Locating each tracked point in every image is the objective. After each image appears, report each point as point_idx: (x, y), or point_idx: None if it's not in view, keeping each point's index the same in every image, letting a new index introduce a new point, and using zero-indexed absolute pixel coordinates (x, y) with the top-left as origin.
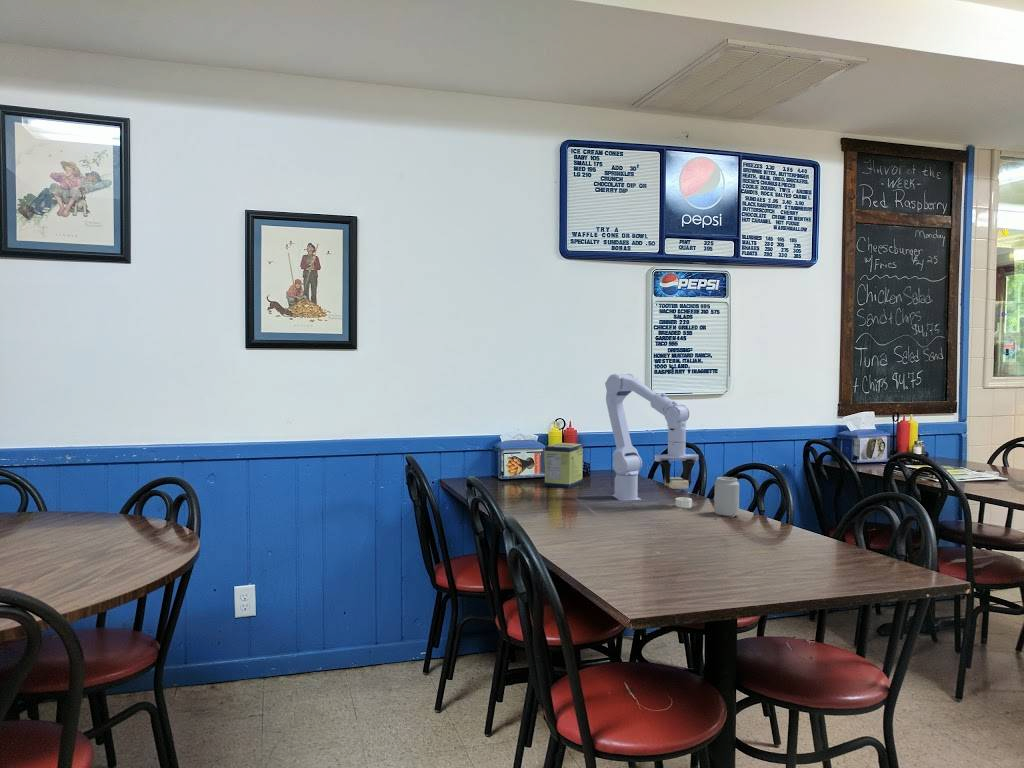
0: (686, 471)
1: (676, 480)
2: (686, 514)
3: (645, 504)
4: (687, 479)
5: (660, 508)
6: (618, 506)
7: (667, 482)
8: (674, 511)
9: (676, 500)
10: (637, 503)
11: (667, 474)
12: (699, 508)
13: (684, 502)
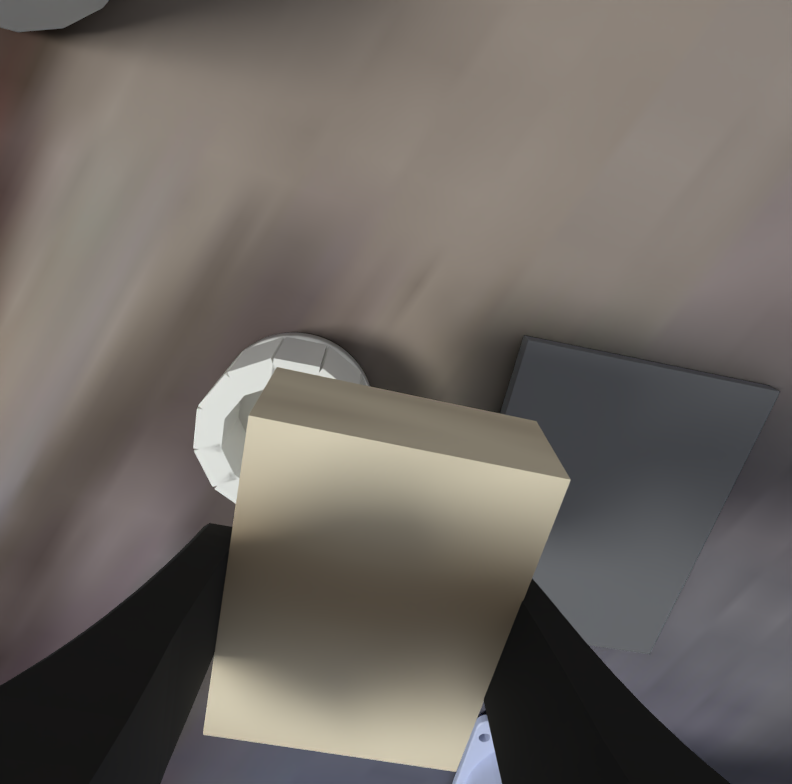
0: (161, 678)
1: (444, 532)
2: (452, 118)
3: (581, 567)
4: (193, 548)
5: (576, 388)
6: (771, 611)
7: (537, 589)
8: (476, 297)
9: None
10: (615, 615)
11: (613, 682)
12: (155, 336)
13: (327, 360)
